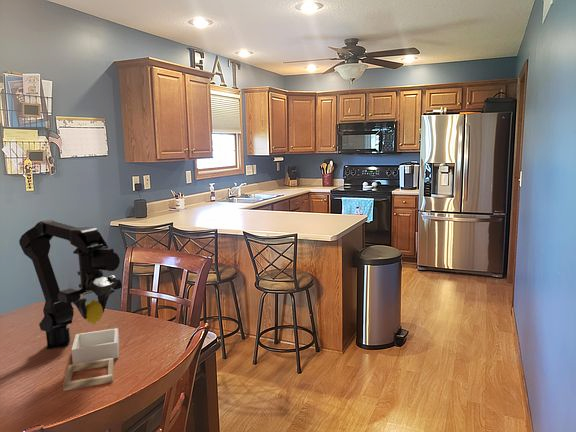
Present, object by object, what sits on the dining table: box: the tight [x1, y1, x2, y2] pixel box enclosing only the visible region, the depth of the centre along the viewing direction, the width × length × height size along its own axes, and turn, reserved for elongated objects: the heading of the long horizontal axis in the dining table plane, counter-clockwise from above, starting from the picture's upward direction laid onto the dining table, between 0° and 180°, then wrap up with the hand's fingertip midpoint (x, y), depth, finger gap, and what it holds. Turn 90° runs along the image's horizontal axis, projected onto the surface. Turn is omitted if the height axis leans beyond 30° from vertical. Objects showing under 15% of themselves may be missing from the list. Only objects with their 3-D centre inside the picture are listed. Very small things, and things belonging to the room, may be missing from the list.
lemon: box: [85, 299, 104, 325], centre depth 143 cm, size 6×6×8 cm
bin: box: [71, 327, 120, 364], centre depth 144 cm, size 13×13×5 cm
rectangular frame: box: [62, 358, 115, 392], centre depth 129 cm, size 12×12×2 cm
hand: (93, 315), depth 143 cm, fingers closed on lemon, 6 cm apart
